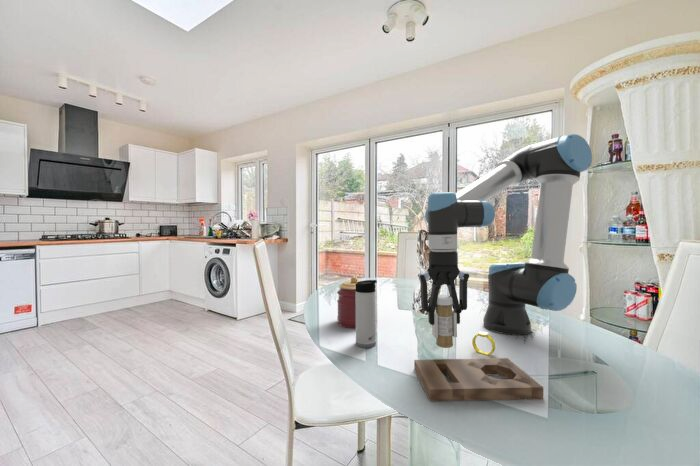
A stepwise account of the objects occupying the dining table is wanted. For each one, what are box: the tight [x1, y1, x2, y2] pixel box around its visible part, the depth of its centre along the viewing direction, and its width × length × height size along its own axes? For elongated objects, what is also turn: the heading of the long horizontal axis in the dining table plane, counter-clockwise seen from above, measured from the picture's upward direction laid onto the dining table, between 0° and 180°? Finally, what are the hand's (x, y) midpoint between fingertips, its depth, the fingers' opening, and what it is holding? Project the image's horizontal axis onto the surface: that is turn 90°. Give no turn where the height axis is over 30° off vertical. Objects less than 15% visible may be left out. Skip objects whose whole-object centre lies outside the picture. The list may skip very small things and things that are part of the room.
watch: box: [471, 331, 496, 356], centre depth 87 cm, size 6×3×6 cm, turn 45°
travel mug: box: [355, 279, 377, 349], centre depth 94 cm, size 6×7×20 cm
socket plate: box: [413, 357, 544, 402], centre depth 71 cm, size 24×14×2 cm, turn 91°
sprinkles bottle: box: [435, 294, 454, 349], centre depth 82 cm, size 5×5×14 cm
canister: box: [336, 276, 361, 329], centre depth 115 cm, size 13×13×18 cm
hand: (444, 335), depth 83 cm, fingers closed on sprinkles bottle, 4 cm apart
